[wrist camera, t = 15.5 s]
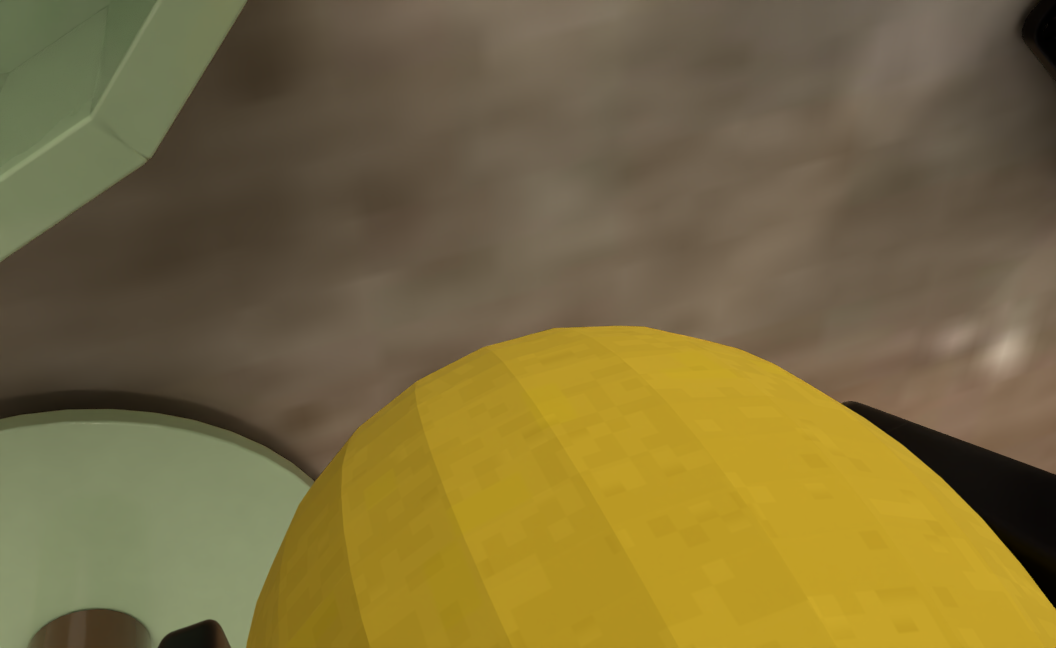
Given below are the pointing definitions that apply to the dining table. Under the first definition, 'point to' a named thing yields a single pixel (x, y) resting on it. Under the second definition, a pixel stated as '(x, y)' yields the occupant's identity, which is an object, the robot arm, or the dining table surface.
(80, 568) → the crock lid
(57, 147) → the crock
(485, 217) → the dining table surface
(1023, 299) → the dining table surface
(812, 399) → the lemon
